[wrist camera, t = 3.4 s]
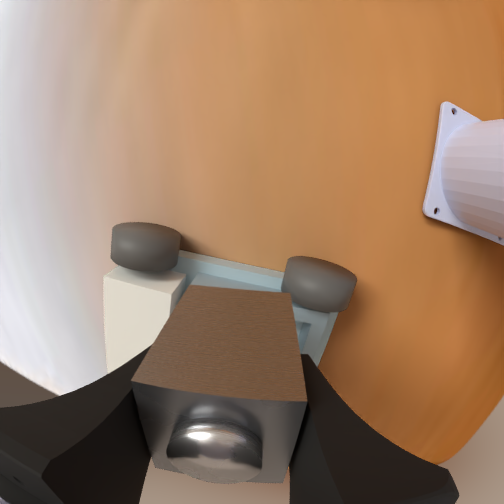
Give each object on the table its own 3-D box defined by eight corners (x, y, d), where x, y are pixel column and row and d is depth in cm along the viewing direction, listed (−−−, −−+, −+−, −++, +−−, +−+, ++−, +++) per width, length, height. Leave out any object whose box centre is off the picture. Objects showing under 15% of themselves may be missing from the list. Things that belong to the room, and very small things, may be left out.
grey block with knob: (290, 293, 12) (310, 420, 5) (278, 371, 13) (283, 498, 6) (189, 284, 12) (121, 396, 5) (192, 363, 13) (150, 481, 6)
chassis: (347, 265, 18) (367, 291, 14) (297, 400, 21) (300, 439, 17) (131, 219, 18) (97, 233, 14) (126, 361, 21) (104, 393, 17)
